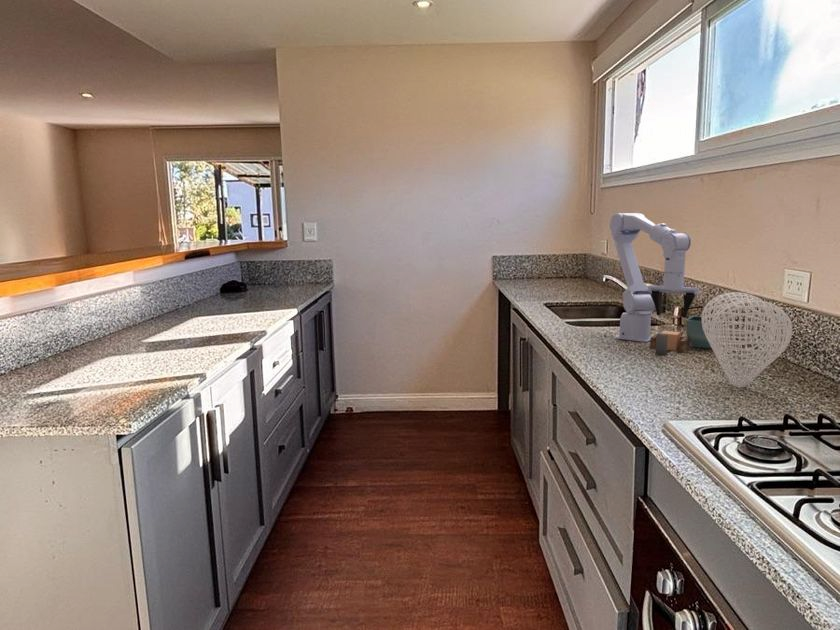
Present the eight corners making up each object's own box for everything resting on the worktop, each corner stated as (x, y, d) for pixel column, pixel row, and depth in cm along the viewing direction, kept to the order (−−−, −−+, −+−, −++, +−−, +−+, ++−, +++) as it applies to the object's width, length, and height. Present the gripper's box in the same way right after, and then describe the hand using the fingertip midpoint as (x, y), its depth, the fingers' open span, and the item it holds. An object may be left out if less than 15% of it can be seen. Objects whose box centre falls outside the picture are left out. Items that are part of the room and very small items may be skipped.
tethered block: (651, 354, 172) (652, 334, 171) (663, 345, 183) (664, 327, 182) (668, 356, 169) (669, 336, 168) (679, 347, 180) (680, 329, 179)
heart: (692, 370, 153) (698, 288, 149) (756, 374, 149) (764, 290, 145) (715, 402, 126) (723, 303, 122) (795, 407, 122) (805, 305, 118)
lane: (649, 348, 180) (650, 337, 179) (656, 343, 186) (657, 333, 185) (683, 352, 174) (684, 341, 173) (689, 347, 180) (690, 336, 179)
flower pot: (714, 351, 176) (716, 322, 174) (683, 347, 181) (685, 319, 179) (719, 346, 182) (722, 318, 181) (690, 342, 188) (692, 315, 186)
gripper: (646, 272, 176) (643, 315, 178) (697, 274, 168) (694, 319, 170) (652, 271, 182) (650, 312, 184) (701, 272, 173) (698, 316, 175)
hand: (671, 316), depth 177 cm, fingers open, 7 cm apart
